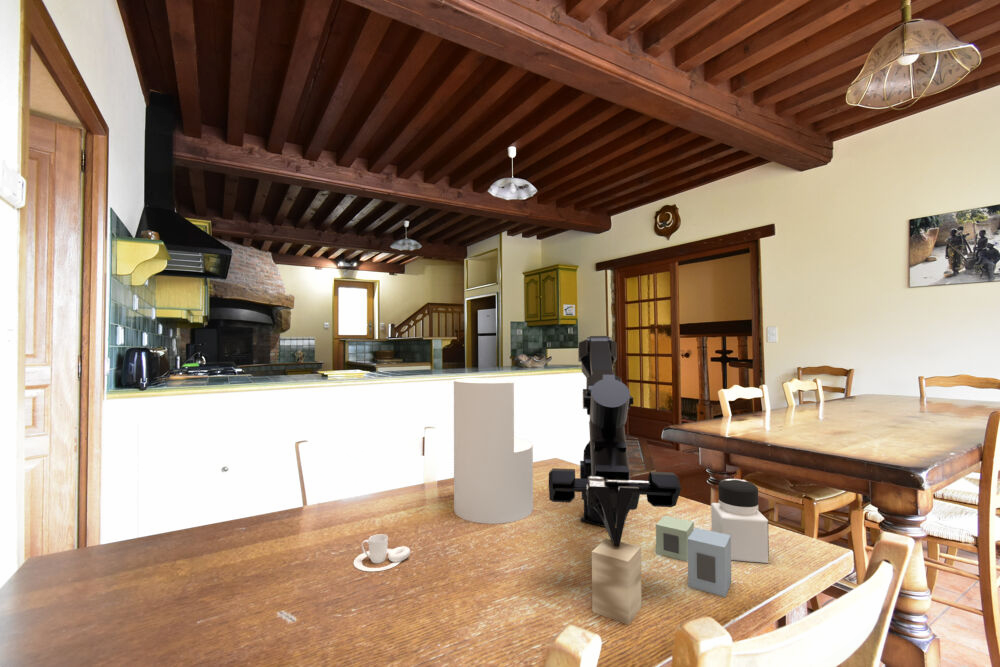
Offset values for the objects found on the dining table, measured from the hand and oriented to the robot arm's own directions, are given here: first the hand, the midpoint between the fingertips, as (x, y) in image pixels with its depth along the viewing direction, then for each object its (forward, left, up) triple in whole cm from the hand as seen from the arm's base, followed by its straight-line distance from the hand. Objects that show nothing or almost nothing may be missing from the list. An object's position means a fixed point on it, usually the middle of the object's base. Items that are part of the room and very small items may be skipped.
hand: (616, 545), depth 62 cm
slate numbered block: (+9, +14, -8) cm, 18 cm away
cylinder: (-36, +21, -9) cm, 42 cm away
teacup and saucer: (-35, -10, -9) cm, 37 cm away
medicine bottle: (+11, +28, -9) cm, 31 cm away
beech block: (0, 0, -8) cm, 8 cm away
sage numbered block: (+2, +22, -8) cm, 23 cm away
